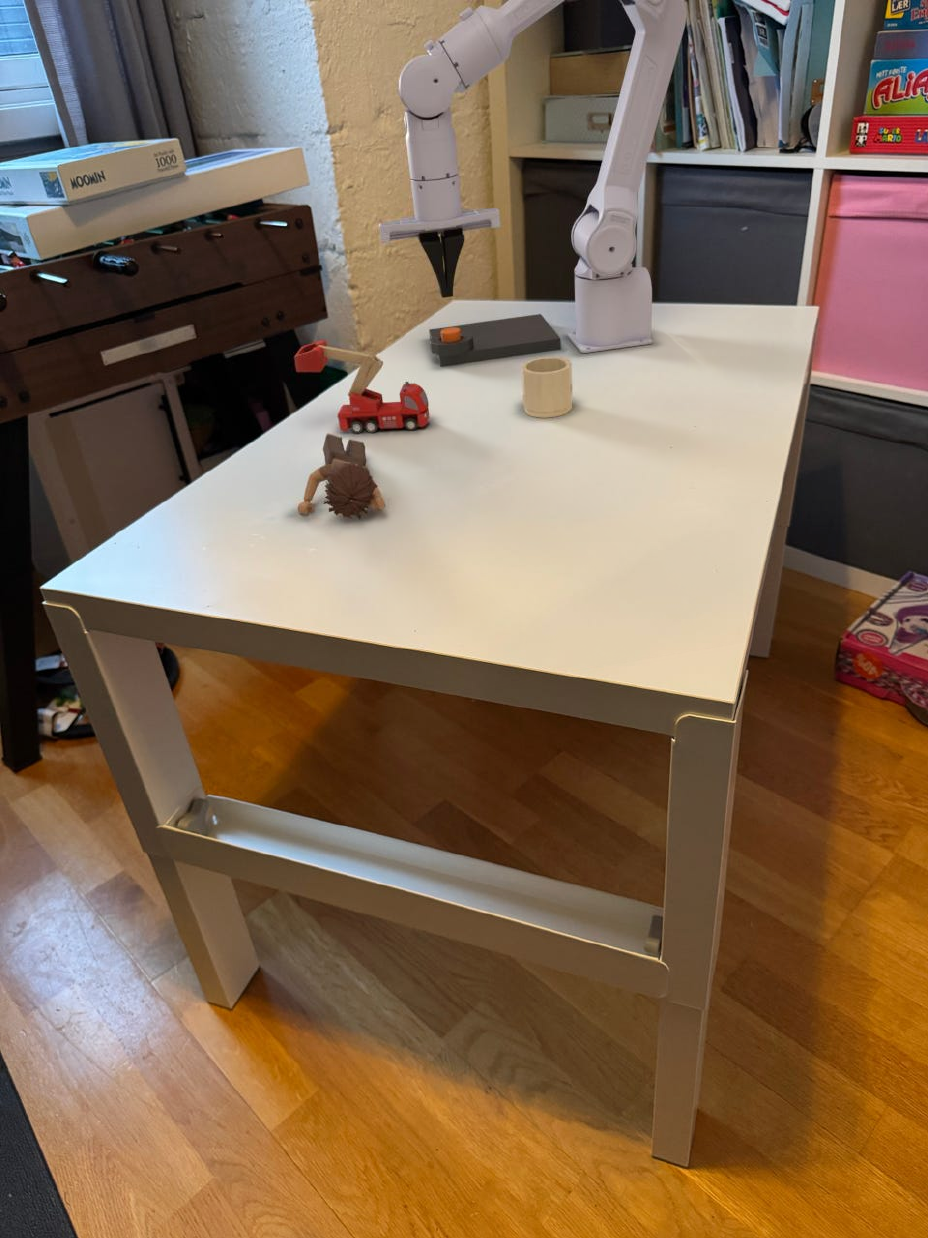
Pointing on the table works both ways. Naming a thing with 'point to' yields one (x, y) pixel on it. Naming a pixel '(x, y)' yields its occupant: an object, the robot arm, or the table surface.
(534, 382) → the small cup
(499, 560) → the table surface
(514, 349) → the scale
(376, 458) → the table surface
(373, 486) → the figurine
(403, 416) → the toy fire truck
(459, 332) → the button
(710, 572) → the table surface
